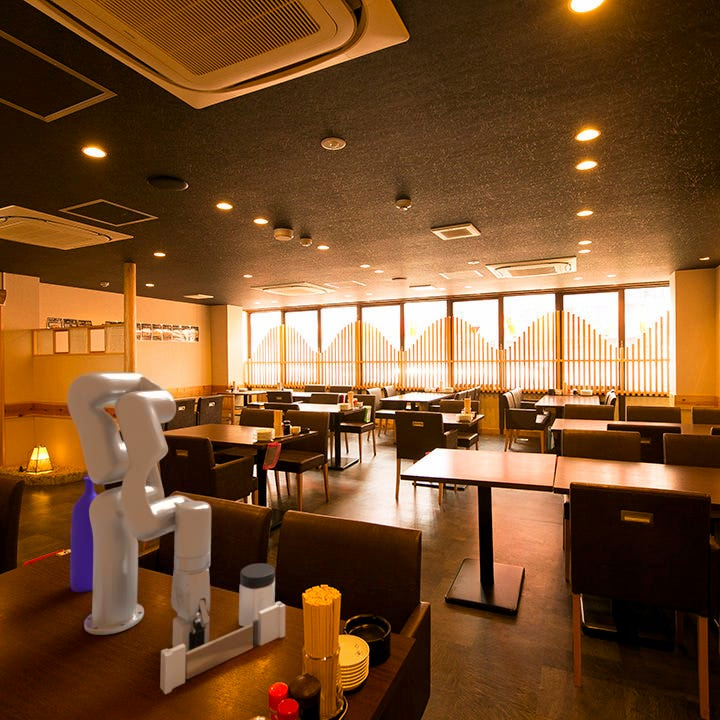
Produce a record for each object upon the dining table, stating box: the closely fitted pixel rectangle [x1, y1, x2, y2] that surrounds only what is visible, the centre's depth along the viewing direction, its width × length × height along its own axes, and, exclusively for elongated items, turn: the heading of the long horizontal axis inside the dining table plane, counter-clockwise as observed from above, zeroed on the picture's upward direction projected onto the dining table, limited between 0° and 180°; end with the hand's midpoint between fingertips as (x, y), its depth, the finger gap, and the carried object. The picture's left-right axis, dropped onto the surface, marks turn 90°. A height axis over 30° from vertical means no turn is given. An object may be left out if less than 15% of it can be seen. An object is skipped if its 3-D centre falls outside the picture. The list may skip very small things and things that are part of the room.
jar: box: [238, 562, 276, 627], centre depth 111 cm, size 9×8×12 cm
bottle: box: [69, 476, 99, 593], centre depth 127 cm, size 8×8×30 cm
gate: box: [185, 620, 259, 680], centre depth 95 cm, size 1×16×5 cm, turn 134°
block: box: [172, 612, 210, 656], centre depth 100 cm, size 5×6×6 cm
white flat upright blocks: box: [159, 601, 286, 695], centre depth 96 cm, size 2×27×7 cm, turn 134°
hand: (190, 642), depth 100 cm, fingers closed on block, 5 cm apart
